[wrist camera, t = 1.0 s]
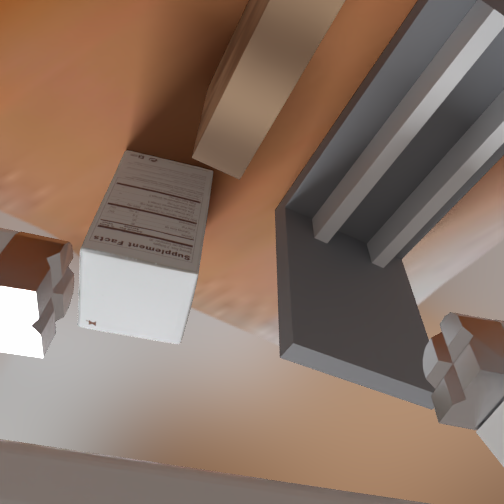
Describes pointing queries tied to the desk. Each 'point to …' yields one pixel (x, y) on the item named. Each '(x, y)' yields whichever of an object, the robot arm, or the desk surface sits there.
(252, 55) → the door panel
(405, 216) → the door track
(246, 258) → the desk surface
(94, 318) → the supplement box
